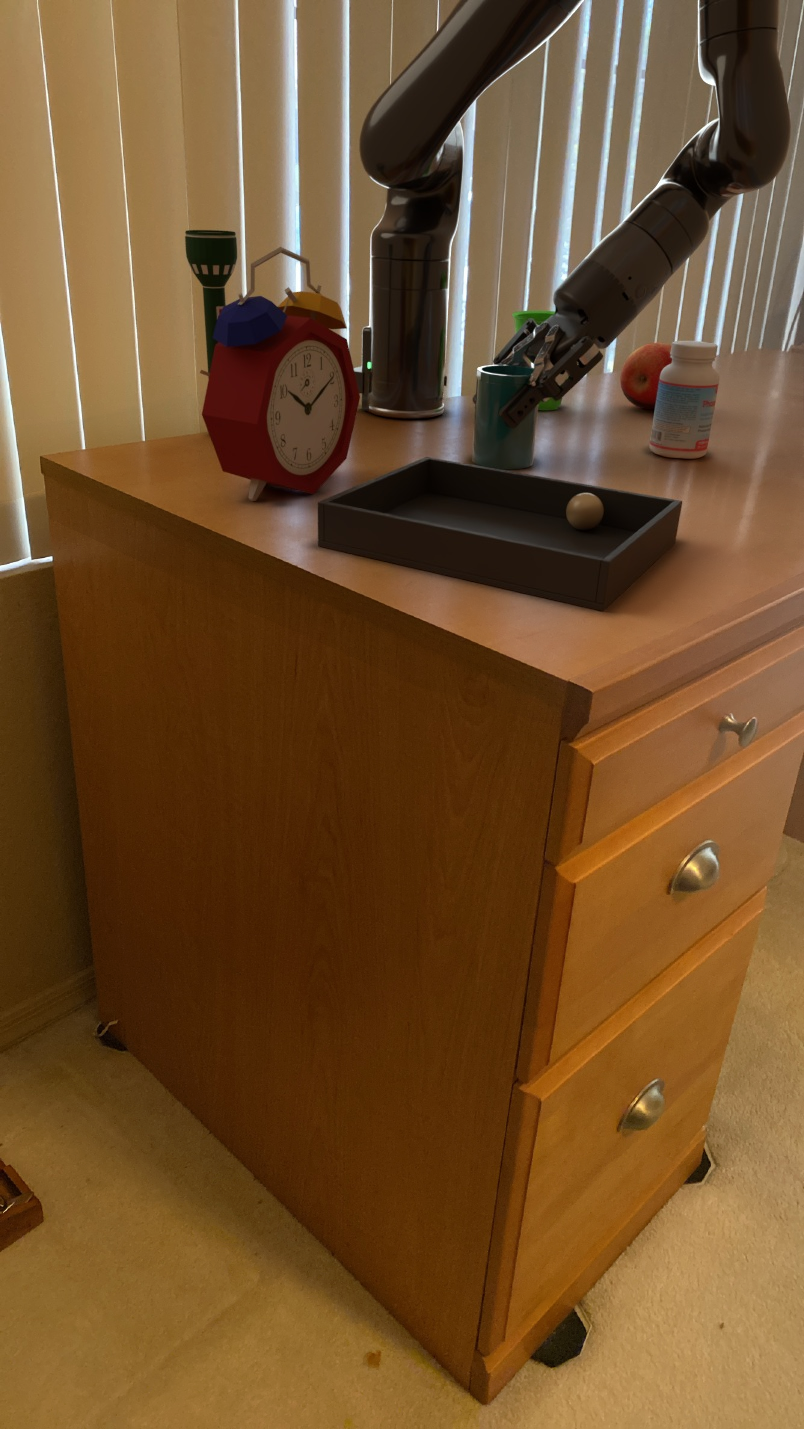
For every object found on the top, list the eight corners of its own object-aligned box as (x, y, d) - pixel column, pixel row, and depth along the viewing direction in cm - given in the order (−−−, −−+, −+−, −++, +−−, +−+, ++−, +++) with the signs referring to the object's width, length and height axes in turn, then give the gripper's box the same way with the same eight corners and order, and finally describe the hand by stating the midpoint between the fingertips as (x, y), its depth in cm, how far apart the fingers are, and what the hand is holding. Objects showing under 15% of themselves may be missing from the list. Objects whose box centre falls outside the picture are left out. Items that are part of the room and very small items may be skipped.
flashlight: (214, 442, 104) (201, 233, 94) (189, 433, 107) (174, 229, 98) (254, 435, 107) (246, 232, 97) (229, 427, 110) (218, 229, 101)
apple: (694, 411, 127) (705, 345, 123) (650, 417, 122) (660, 349, 118) (648, 400, 132) (657, 337, 128) (604, 405, 128) (612, 340, 124)
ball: (570, 496, 81) (582, 531, 81) (555, 502, 79) (566, 538, 79) (602, 484, 79) (614, 520, 80) (587, 490, 77) (599, 527, 77)
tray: (317, 546, 76) (317, 501, 74) (424, 495, 89) (426, 456, 87) (602, 611, 66) (609, 562, 64) (675, 543, 79) (682, 500, 77)
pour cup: (461, 463, 99) (466, 370, 95) (488, 450, 104) (494, 362, 100) (517, 472, 97) (525, 378, 92) (542, 459, 102) (551, 369, 97)
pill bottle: (707, 462, 103) (728, 349, 98) (648, 457, 104) (665, 345, 99) (704, 448, 108) (723, 341, 103) (647, 444, 109) (664, 337, 104)
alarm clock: (262, 514, 82) (252, 252, 73) (186, 496, 86) (166, 245, 77) (361, 477, 94) (363, 245, 84) (289, 462, 97) (283, 240, 88)
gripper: (557, 250, 99) (442, 375, 102) (628, 261, 87) (497, 402, 90) (597, 306, 103) (486, 425, 106) (670, 324, 92) (543, 457, 94)
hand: (491, 414), depth 98 cm, fingers closed on pour cup, 6 cm apart
